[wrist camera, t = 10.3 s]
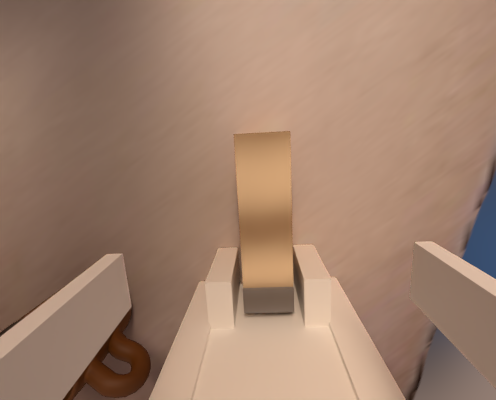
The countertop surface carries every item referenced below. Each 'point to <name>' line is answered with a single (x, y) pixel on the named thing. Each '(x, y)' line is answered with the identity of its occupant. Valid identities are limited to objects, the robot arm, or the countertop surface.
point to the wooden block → (265, 220)
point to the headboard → (273, 343)
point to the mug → (104, 376)
